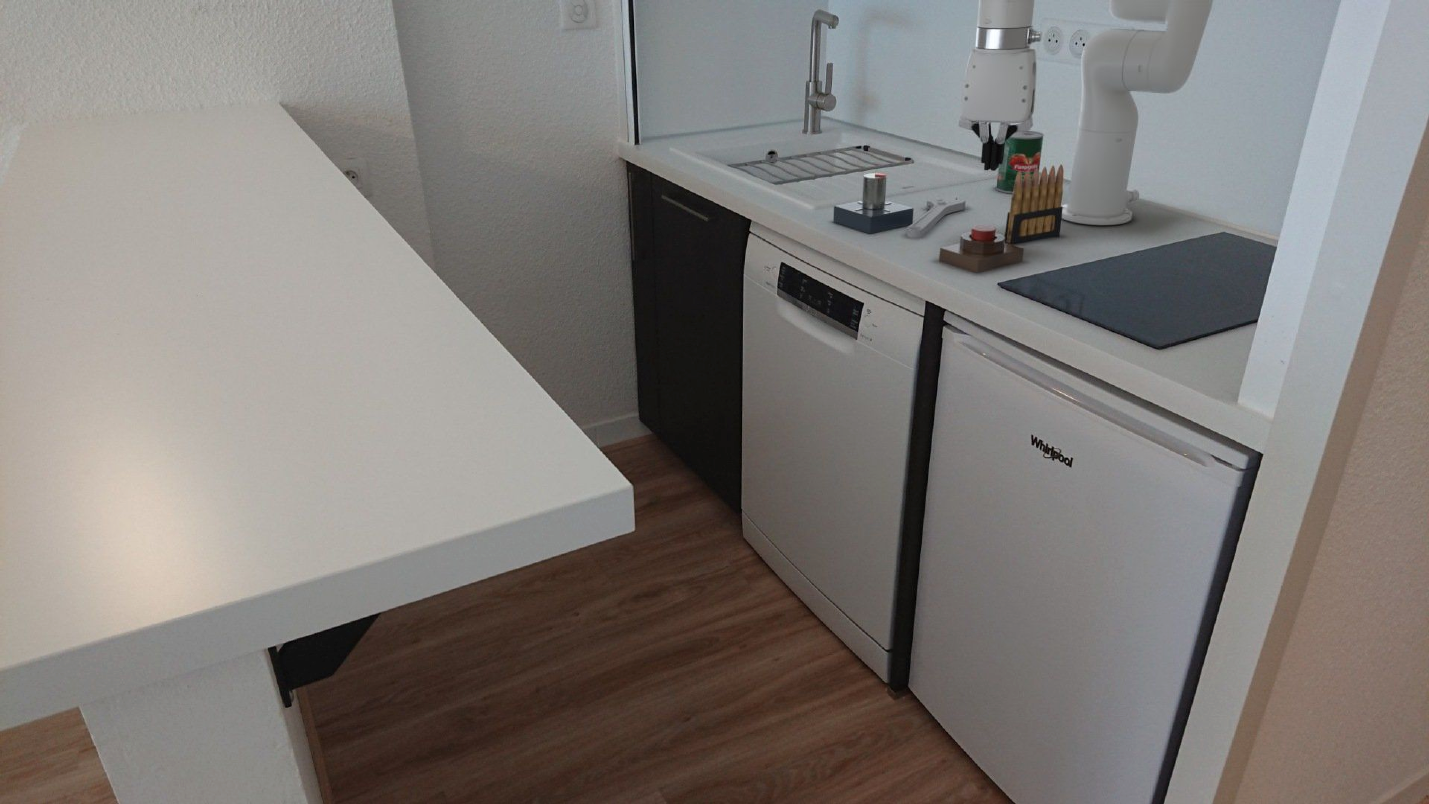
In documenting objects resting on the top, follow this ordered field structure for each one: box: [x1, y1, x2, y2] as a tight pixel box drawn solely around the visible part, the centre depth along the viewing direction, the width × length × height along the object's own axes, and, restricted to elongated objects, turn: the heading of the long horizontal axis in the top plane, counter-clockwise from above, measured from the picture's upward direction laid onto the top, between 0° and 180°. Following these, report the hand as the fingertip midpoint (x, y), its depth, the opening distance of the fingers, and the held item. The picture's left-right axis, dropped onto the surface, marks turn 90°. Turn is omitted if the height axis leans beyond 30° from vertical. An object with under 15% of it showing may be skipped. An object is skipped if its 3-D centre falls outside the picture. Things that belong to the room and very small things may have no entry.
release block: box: [938, 231, 1025, 274], centre depth 148 cm, size 10×8×4 cm
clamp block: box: [833, 199, 915, 235], centre depth 170 cm, size 10×10×3 cm
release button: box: [970, 224, 997, 241], centre depth 147 cm, size 4×4×2 cm
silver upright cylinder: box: [861, 172, 888, 209], centre depth 169 cm, size 4×4×6 cm
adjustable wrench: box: [906, 196, 966, 239], centre depth 172 cm, size 25×6×2 cm, turn 148°
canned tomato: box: [995, 130, 1045, 195], centre depth 190 cm, size 8×8×11 cm
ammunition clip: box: [1003, 164, 1064, 246], centre depth 157 cm, size 11×2×12 cm, turn 116°
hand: (991, 168), depth 144 cm, fingers closed
